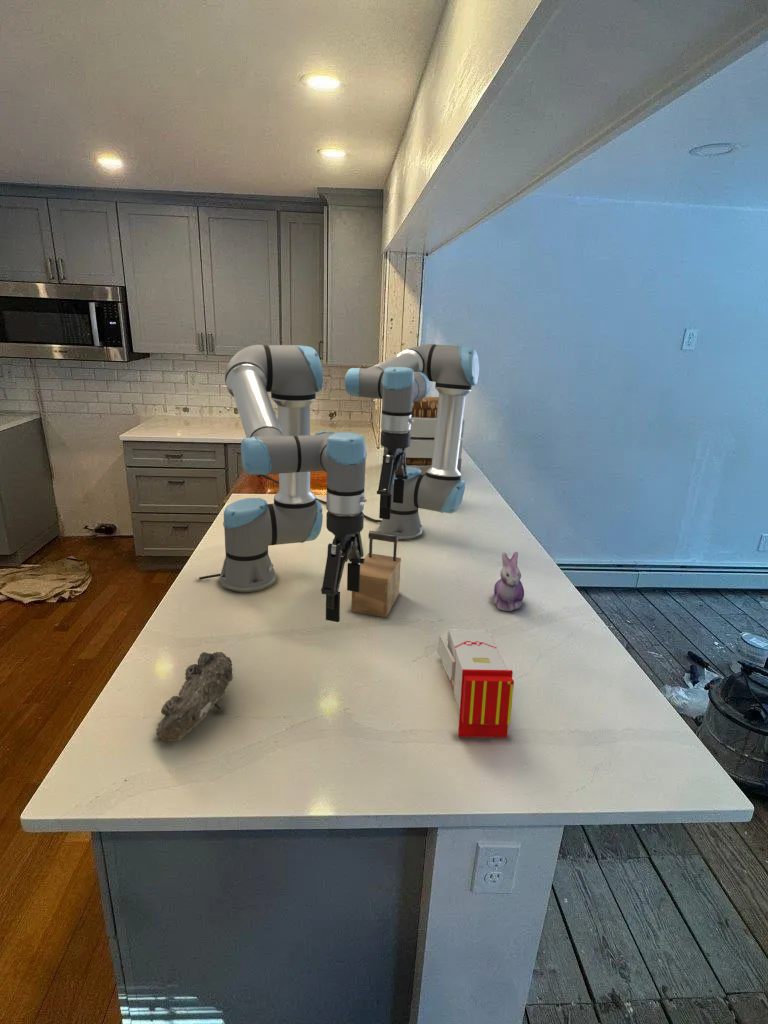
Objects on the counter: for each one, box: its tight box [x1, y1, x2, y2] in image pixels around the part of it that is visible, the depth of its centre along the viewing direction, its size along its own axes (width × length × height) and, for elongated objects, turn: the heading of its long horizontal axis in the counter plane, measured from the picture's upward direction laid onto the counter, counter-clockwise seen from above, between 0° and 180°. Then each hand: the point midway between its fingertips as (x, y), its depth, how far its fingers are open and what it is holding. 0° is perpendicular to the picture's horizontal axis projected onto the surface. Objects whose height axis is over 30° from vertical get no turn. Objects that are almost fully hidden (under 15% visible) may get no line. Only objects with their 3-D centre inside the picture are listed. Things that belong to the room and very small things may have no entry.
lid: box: [359, 530, 402, 583], centre depth 148 cm, size 14×9×9 cm
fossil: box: [155, 651, 234, 743], centre depth 109 cm, size 22×10×15 cm
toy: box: [437, 628, 515, 738], centre depth 117 cm, size 12×13×30 cm
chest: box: [351, 561, 402, 618], centre depth 151 cm, size 14×9×10 cm
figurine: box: [492, 551, 525, 612], centre depth 152 cm, size 9×10×15 cm
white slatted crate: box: [383, 396, 465, 474], centre depth 268 cm, size 34×33×41 cm
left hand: (343, 604), depth 121 cm, fingers open, 13 cm apart
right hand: (391, 510), depth 150 cm, fingers open, 13 cm apart
